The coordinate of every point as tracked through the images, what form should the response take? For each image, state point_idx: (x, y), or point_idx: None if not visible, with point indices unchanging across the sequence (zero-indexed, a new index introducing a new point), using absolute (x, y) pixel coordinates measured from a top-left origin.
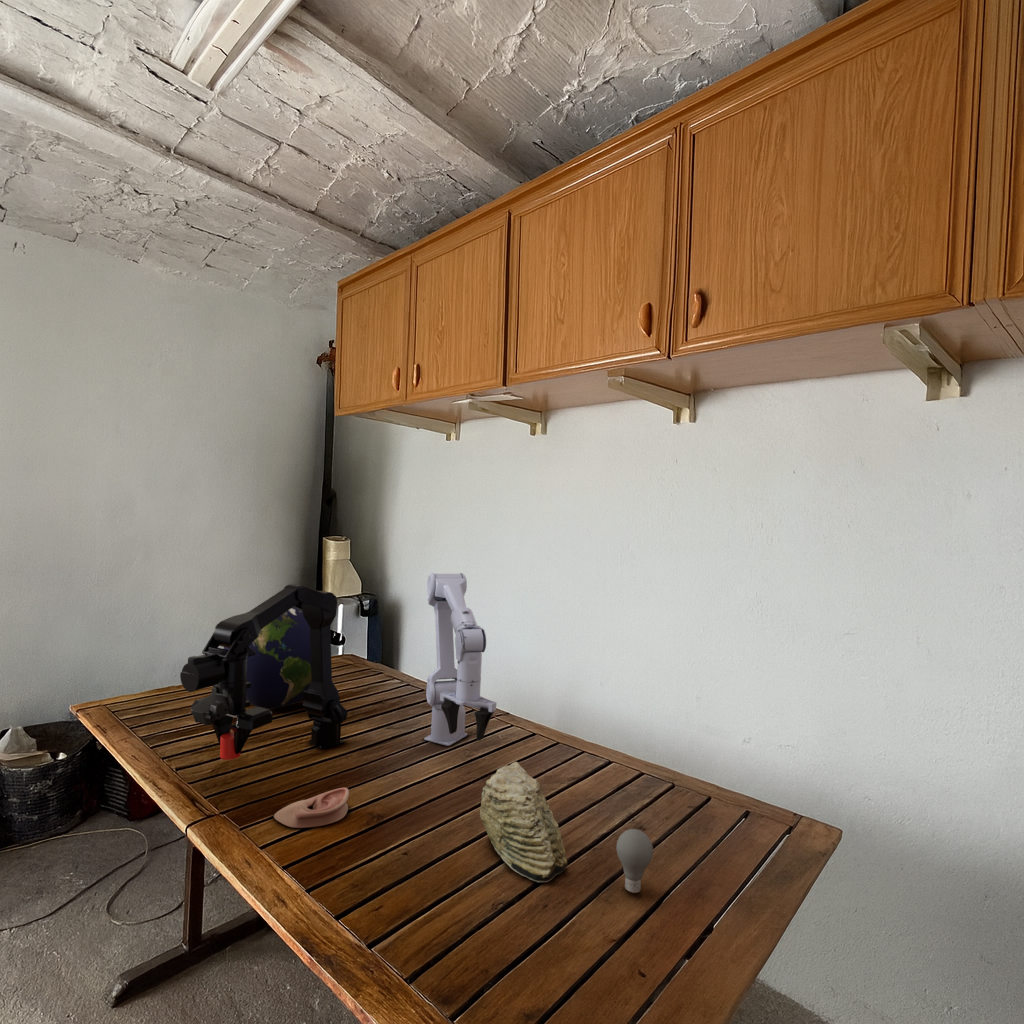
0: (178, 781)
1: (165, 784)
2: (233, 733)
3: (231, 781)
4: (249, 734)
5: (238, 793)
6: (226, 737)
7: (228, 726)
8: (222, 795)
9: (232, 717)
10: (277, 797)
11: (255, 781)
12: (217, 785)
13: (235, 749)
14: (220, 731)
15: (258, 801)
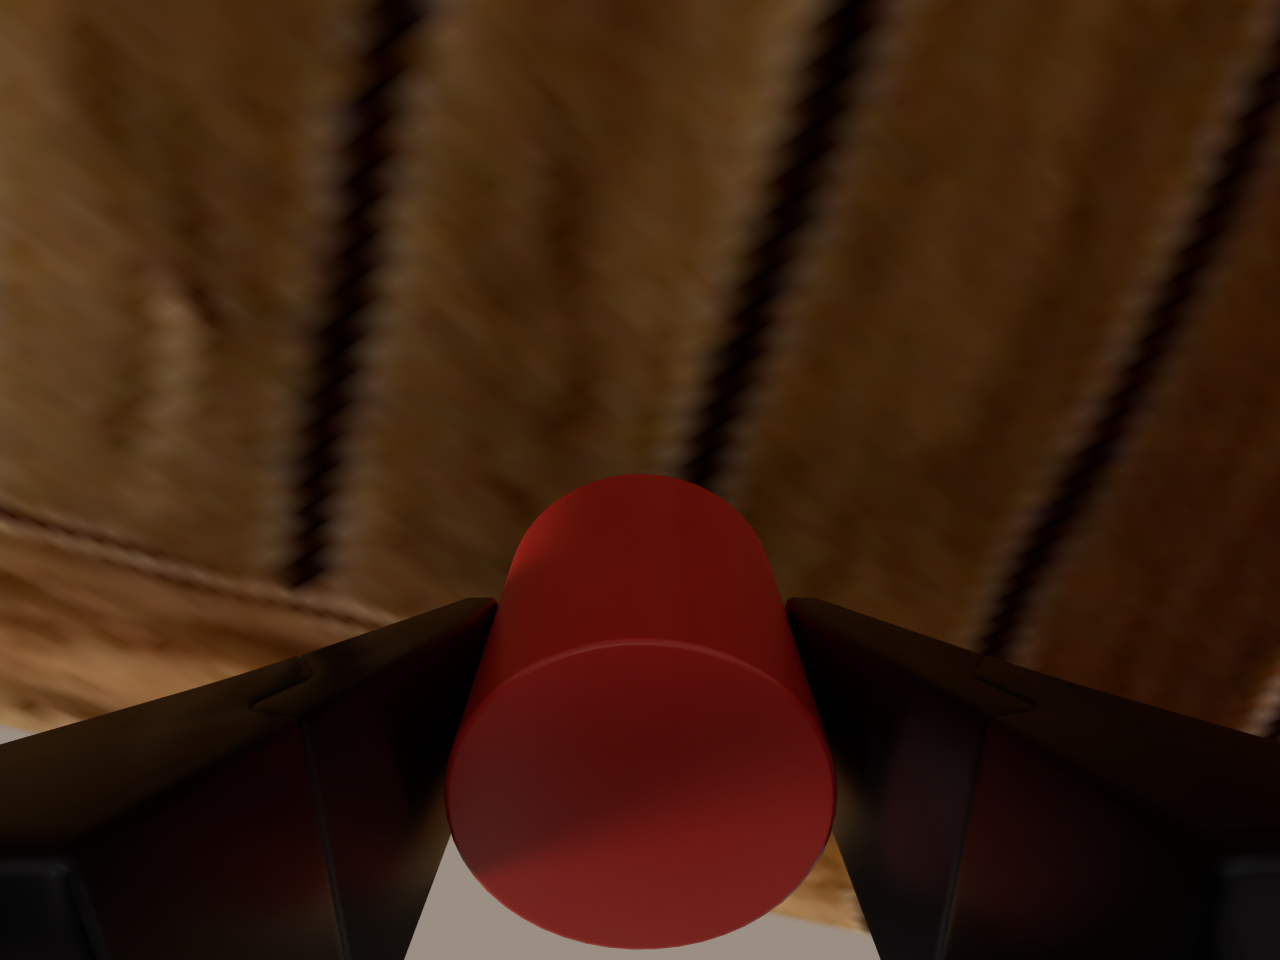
0: (197, 606)
1: (176, 685)
2: (590, 721)
3: (569, 375)
4: (1032, 677)
5: (817, 502)
6: (649, 896)
7: (357, 783)
8: None
9: (208, 817)
10: (1191, 382)
11: (769, 250)
12: (534, 493)
13: None
14: (398, 915)
15: (1078, 515)
